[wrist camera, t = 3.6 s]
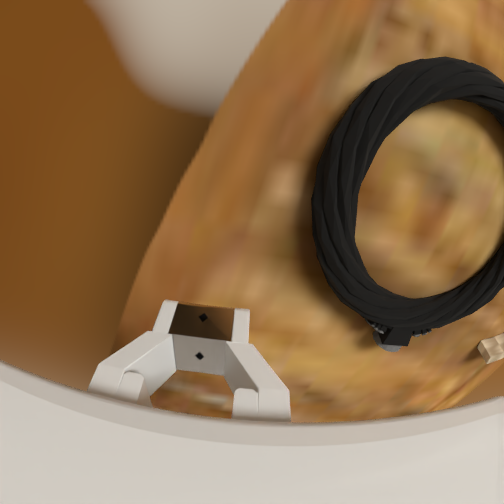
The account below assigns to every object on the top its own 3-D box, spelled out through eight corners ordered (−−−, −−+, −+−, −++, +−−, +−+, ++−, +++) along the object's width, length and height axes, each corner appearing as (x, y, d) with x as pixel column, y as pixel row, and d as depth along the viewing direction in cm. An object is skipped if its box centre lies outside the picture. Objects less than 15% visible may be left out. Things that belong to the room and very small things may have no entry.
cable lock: (574, 143, 16) (469, 356, 30) (552, 134, 19) (458, 337, 34) (368, -5, 13) (267, 341, 28) (352, 7, 17) (266, 314, 31)
